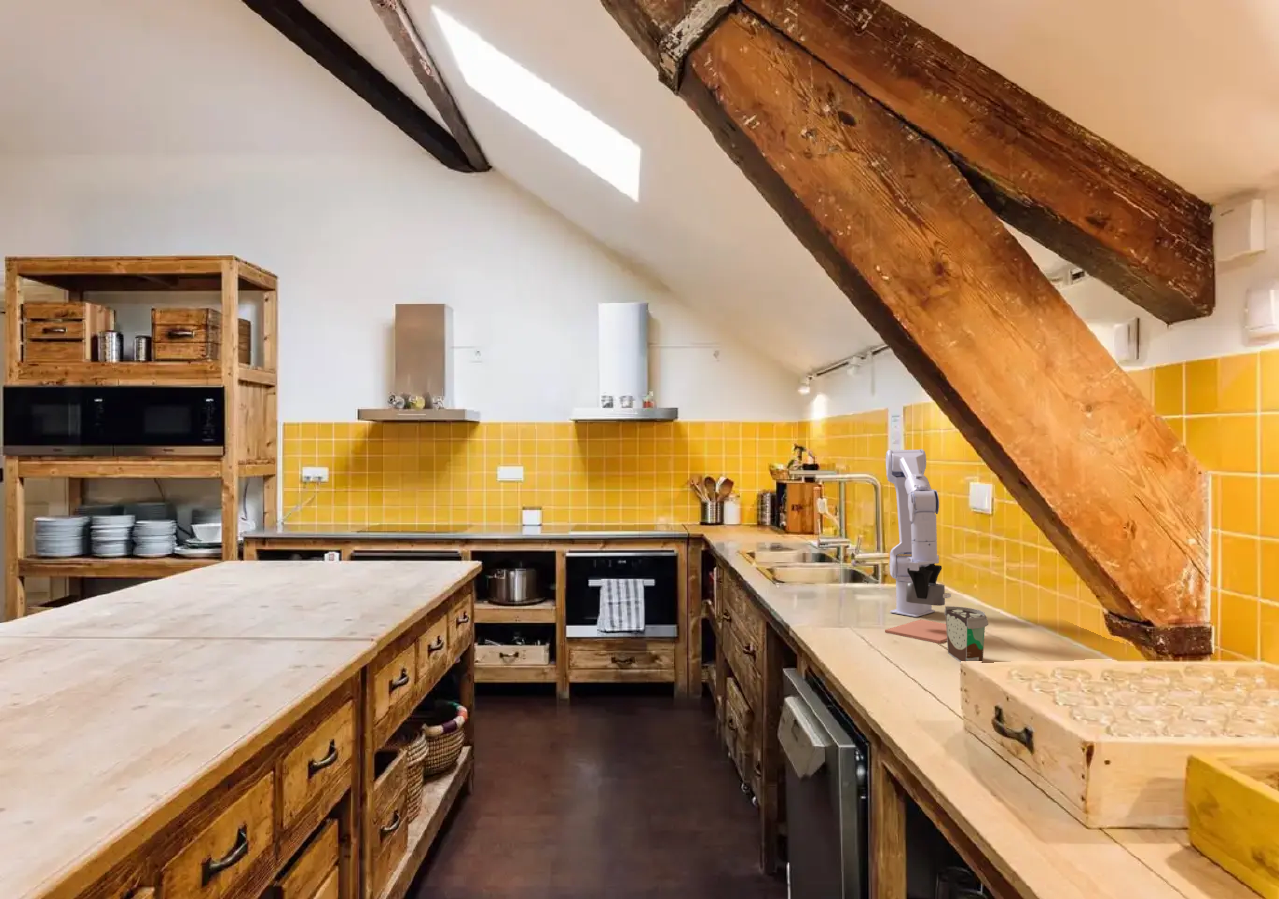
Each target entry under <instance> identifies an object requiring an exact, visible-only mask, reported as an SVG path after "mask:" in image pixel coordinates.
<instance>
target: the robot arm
mask: <svg viewBox="0 0 1279 899" xmlns="http://www.w3.org/2000/svg"><path fill="white" fill-rule="evenodd" d="M926 467H927V454H926V452H925V450H924V449H923V448H920V449H894V450H893V449H888V450H887V451H886V452H885V471H886V473H885V474H886V478H887V481H888V482H889V483H891V484H893V485H894V489H895V492H896V493H895V494H896V507H897V508H896V509H897V520H898V536H899V538H898V539H899V543H898V544H896V545H894V546H893V547H892V548H891V549H890V551H889V573H890V576H891V577H892V579H895V594H896V595H895V596H896V597H895V598H896V599H895V600H896V603H895V604H896V608H895V609H891V610H889V613H891V614H896V615H903V616H908V617H912V618H913V617H914V618H918V617H921V616H925V615H928V614H932V613H935V611H936V610H935V609H932V608H933V607H932V606H933V605H927V604H918V603H910V602H907V601H906V582H913V584H914V588H915V592H916V596H917V598H922V599H926V598H927V595H928V586H929V583H935V584H937V580H938V577H939V574H940V573H941V571H942V569H943V566H942V565H938V564H939V562H940V558H939V557H940V556H939V555H938V537H937V536H938V533H937V532H938V530H937V515H938V514H939V510H940V509H939V508H940V498H939V493H938V490H937V489H932V487H931V484H930V482H929V479H928V477H927V476H926V475H925V471H926V469H927V468H926Z"/></svg>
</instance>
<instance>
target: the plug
mask: <svg viewBox="0 0 1279 899" xmlns="http://www.w3.org/2000/svg"><path fill="white" fill-rule="evenodd" d="M945 589H946V587H945V584H943V583H936V584H935V583H929V586H928V595H927V598H926V599H922V598H917V596H916V592H915V588H914V584H913V582H906V601H907V602H910V603H918V604H927V605H932V606H941V607H942V606H944V605H945V606H946V599H950V598H951V597H952V593H950V592H946V591H945Z"/></svg>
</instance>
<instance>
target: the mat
mask: <svg viewBox="0 0 1279 899" xmlns="http://www.w3.org/2000/svg"><path fill="white" fill-rule="evenodd" d="M884 633H887V634H891V635H897V636H902V637H906V638H911V639H917V640H921V641H927V642H930V643H937V644H941V643H945V642H947V629H946V623H944V622H943V623H942V622H938V621H932V620H927V619H917V620H913V621H910V622H907V623H904V624H900V625H897V626H892V627H890V628H887V629H884Z"/></svg>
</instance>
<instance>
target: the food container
mask: <svg viewBox="0 0 1279 899" xmlns="http://www.w3.org/2000/svg"><path fill="white" fill-rule="evenodd" d="M944 616H945V622H946V623H945V624H946V629H947V641H946V642H947V654H948V655H949V656H951V657H952V658H954V659H955V660H957V661H958V662H959V663H961V661H983V662H984V648H985V647H984V645H985V632H986V630H985V629H986V628H985V627H988V626H989V621H988V616H987V615H986V613H985V612H984V611H982V610H979V609H976V608H971V607H963V606H949V605H947V606H946V605H945V608H944Z"/></svg>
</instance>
